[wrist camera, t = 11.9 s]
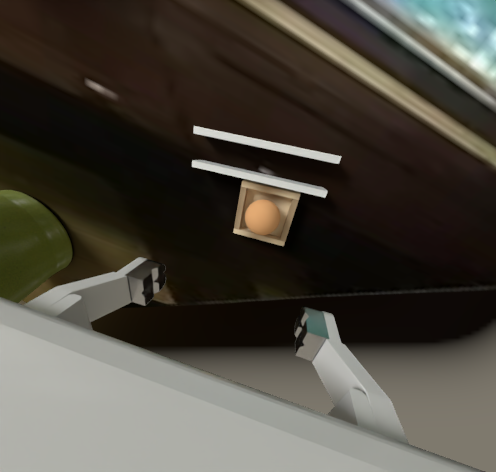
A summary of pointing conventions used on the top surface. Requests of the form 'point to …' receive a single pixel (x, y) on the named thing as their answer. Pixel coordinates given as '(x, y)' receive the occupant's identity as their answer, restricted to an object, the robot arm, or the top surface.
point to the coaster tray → (277, 195)
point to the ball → (262, 217)
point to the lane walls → (259, 176)
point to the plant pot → (29, 245)
